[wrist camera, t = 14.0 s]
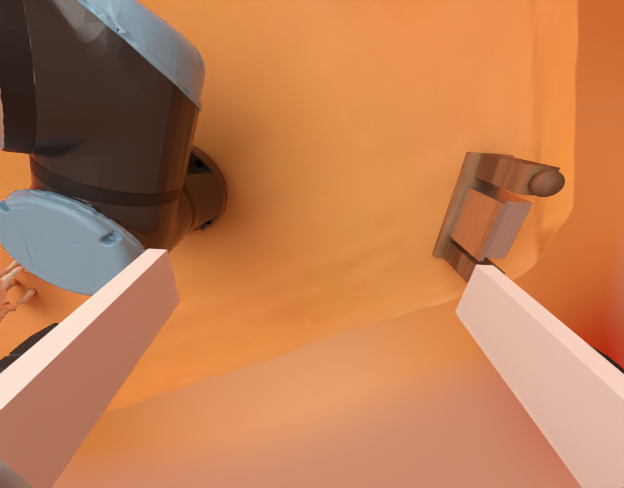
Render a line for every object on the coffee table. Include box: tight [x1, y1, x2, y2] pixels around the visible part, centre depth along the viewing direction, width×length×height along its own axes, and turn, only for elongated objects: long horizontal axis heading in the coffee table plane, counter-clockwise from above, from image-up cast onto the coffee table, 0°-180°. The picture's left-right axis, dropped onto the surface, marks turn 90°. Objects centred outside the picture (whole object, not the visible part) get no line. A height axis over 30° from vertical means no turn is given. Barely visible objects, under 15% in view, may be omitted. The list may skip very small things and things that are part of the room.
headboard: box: [433, 152, 565, 283], centre depth 38 cm, size 7×19×14 cm, turn 177°
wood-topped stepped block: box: [448, 186, 532, 261], centre depth 39 cm, size 5×9×9 cm, turn 177°
